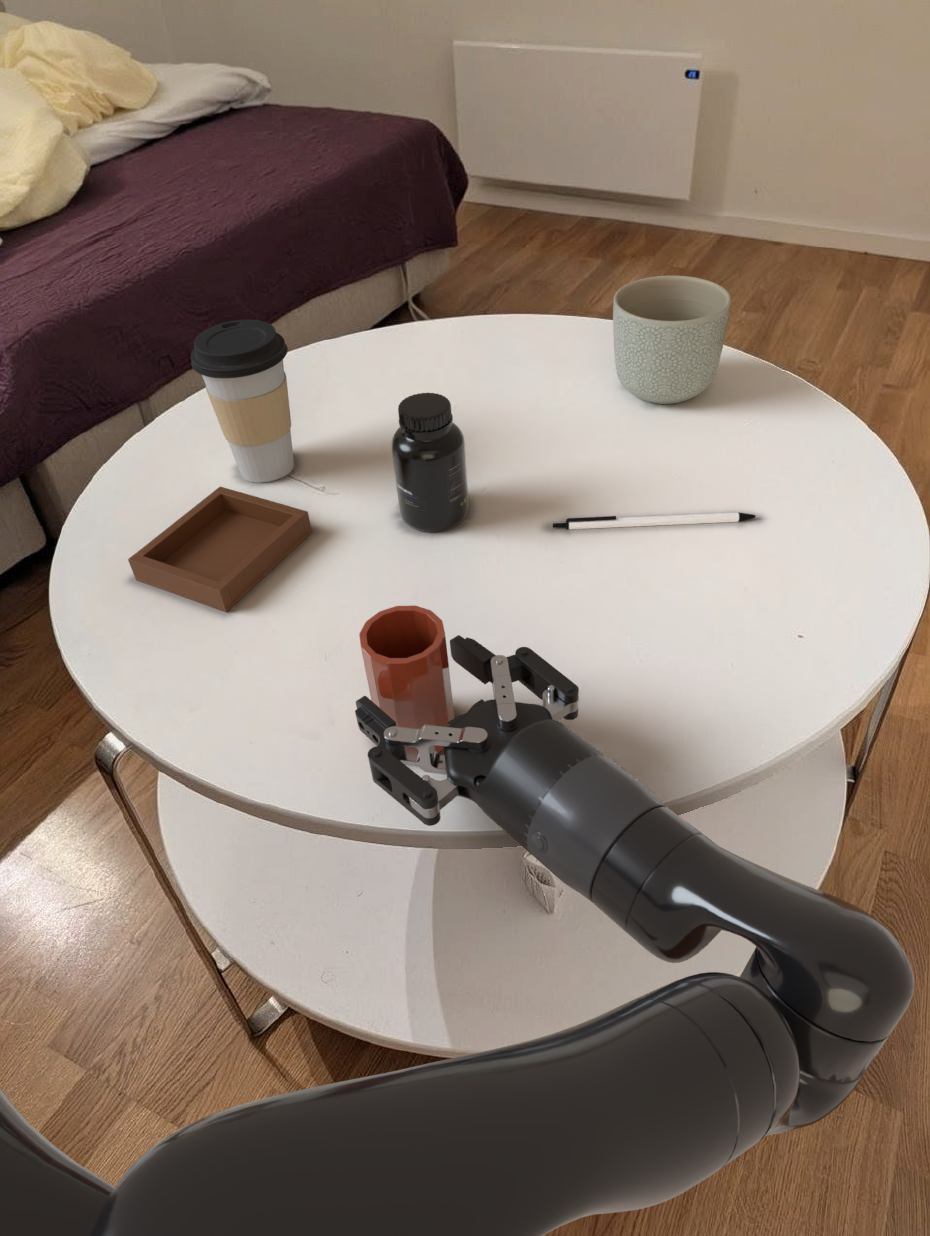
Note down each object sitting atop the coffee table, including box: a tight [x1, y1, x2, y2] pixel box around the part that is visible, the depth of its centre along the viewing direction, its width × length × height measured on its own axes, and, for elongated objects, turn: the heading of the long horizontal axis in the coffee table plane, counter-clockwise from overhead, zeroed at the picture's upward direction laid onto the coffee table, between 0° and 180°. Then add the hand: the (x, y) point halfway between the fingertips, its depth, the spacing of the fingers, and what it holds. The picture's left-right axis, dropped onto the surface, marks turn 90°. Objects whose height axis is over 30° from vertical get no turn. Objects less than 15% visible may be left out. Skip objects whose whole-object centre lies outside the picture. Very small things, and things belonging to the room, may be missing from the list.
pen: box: [552, 511, 758, 530], centre depth 87 cm, size 1×19×1 cm, turn 89°
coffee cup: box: [190, 319, 295, 484], centre depth 94 cm, size 9×9×15 cm
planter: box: [612, 275, 732, 405], centre depth 102 cm, size 12×12×11 cm
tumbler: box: [358, 605, 455, 754], centre depth 66 cm, size 6×6×10 cm
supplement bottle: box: [391, 392, 469, 533], centre depth 87 cm, size 7×7×12 cm
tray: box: [127, 486, 313, 613], centre depth 87 cm, size 13×11×2 cm
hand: (409, 675), depth 66 cm, fingers open, 8 cm apart
